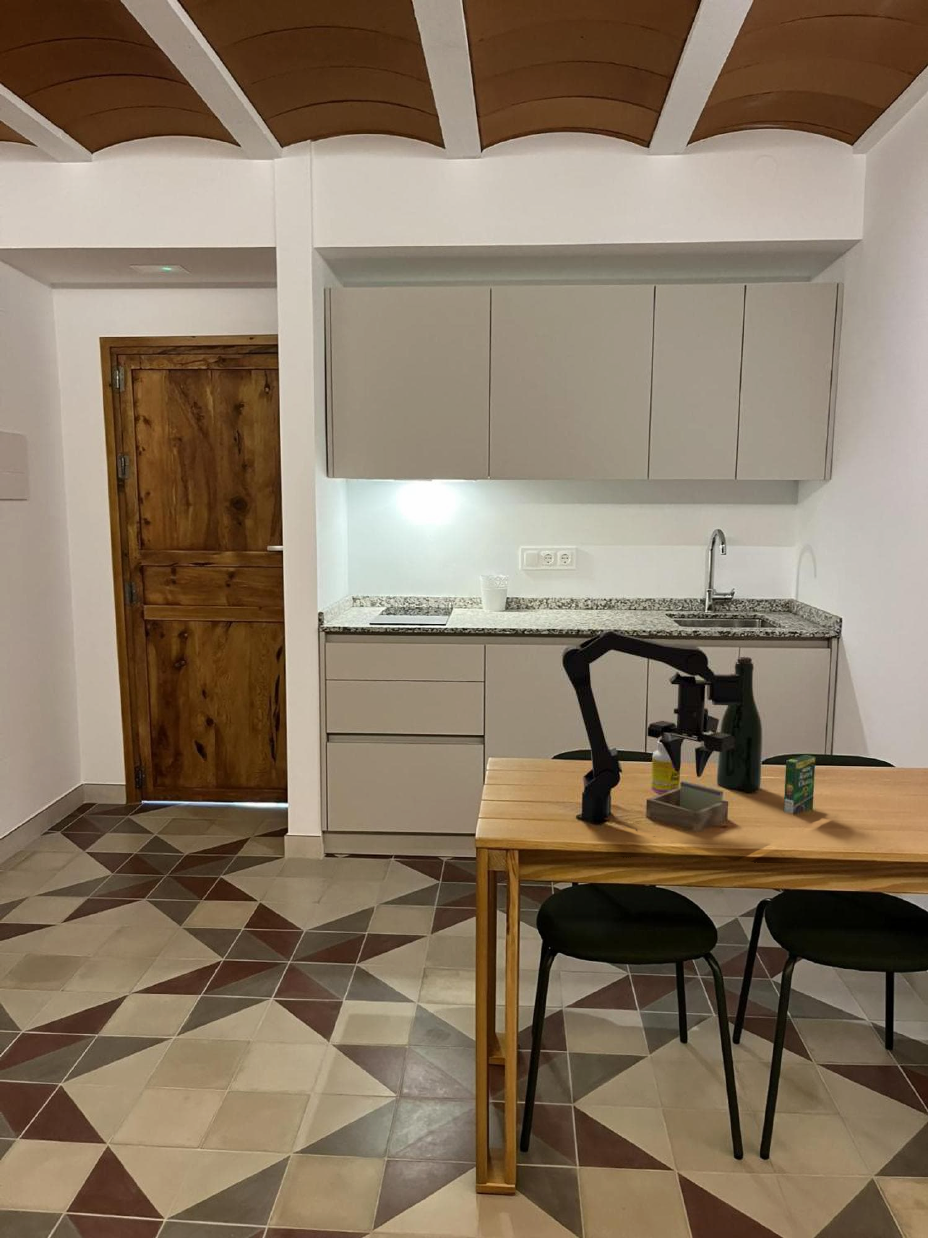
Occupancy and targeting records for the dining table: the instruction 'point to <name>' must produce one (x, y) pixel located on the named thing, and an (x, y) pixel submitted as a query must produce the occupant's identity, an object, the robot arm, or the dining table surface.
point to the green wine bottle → (742, 738)
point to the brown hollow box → (684, 812)
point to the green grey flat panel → (698, 796)
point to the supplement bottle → (663, 771)
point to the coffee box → (799, 784)
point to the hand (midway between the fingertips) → (688, 774)
